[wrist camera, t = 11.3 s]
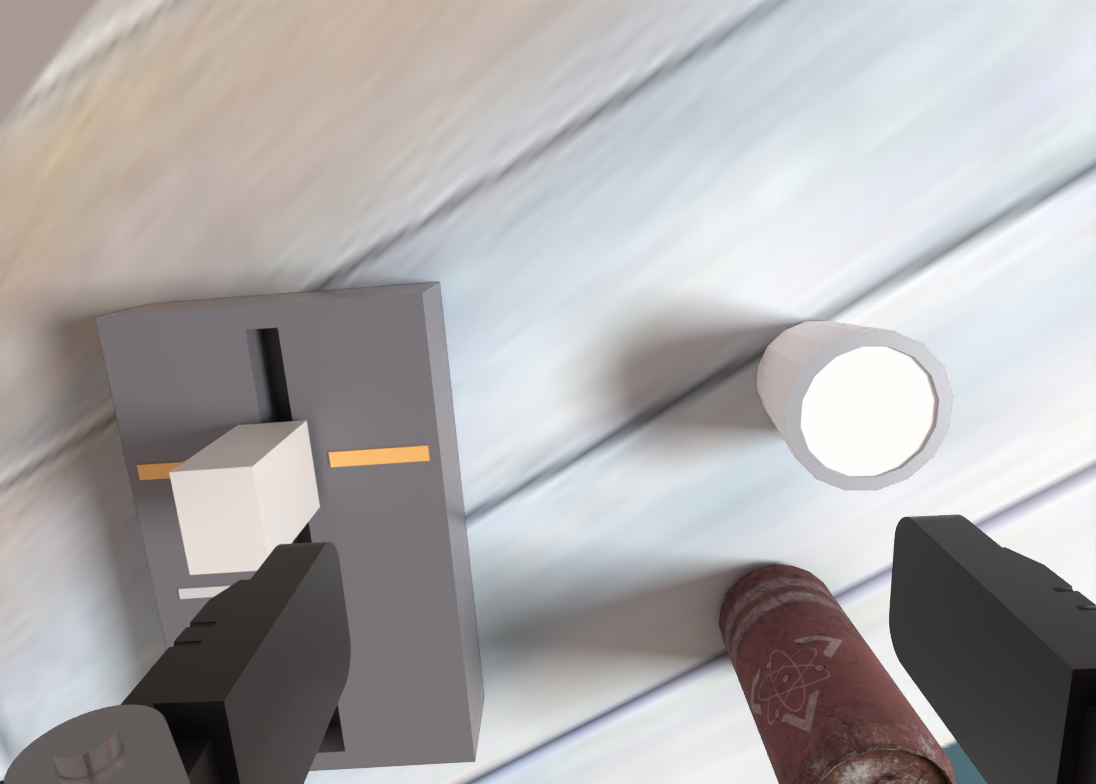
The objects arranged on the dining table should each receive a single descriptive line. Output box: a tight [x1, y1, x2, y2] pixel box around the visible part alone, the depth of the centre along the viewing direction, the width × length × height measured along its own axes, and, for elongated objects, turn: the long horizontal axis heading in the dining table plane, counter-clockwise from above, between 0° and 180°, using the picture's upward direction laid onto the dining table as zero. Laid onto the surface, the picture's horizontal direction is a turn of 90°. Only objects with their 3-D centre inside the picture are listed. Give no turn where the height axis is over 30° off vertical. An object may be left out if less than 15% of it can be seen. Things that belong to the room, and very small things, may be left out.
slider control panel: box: [95, 282, 484, 771], centre depth 37 cm, size 23×14×5 cm, turn 4°
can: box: [719, 565, 956, 784], centre depth 34 cm, size 6×6×14 cm
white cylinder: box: [757, 321, 953, 490], centre depth 34 cm, size 7×7×7 cm
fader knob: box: [169, 420, 320, 575], centre depth 31 cm, size 4×3×8 cm
